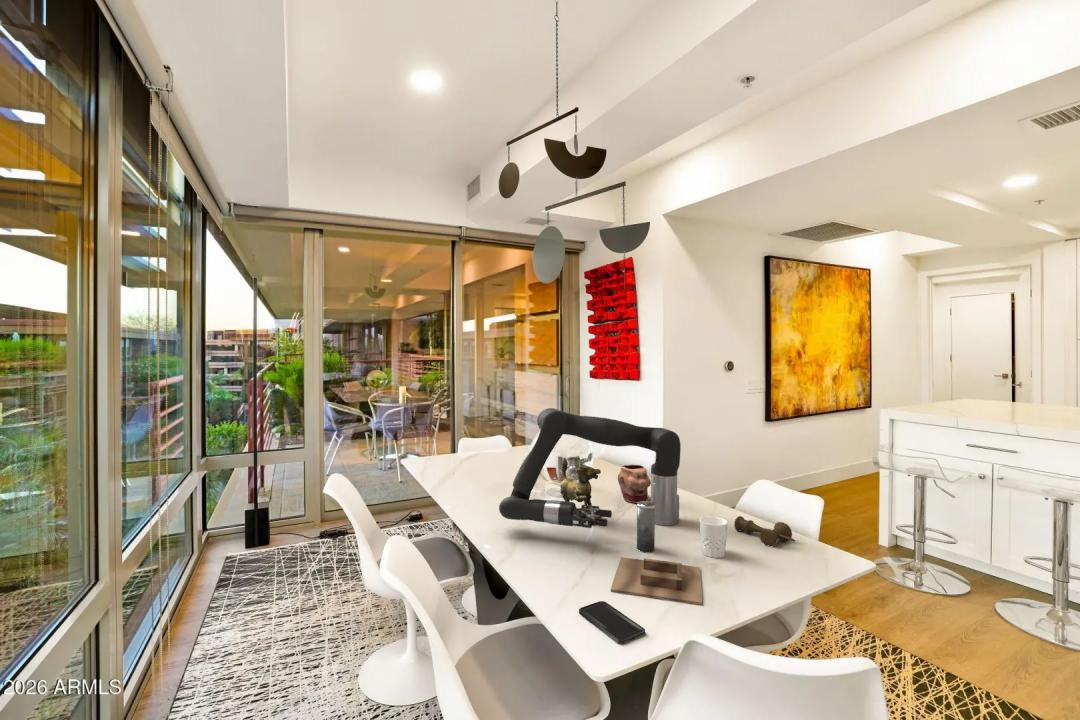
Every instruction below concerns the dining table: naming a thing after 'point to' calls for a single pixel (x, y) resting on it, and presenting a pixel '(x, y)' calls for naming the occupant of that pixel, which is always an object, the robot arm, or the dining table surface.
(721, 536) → the white cup
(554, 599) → the dining table surface
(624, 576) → the walnut bracket
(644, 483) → the decorative planter
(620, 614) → the phone
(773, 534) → the kendama
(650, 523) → the graphite canister
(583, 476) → the figurine
